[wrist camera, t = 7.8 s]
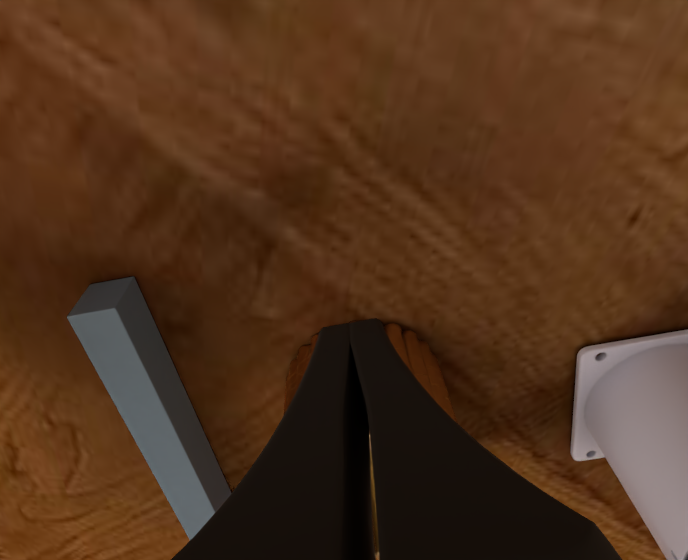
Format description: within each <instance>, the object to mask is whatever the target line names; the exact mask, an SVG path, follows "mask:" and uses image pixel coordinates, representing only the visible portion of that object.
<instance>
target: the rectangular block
mask: <svg viewBox="0 0 688 560" xmlns="http://www.w3.org/2000/svg"><path fill="white" fill-rule="evenodd" d="M67 319H68V320H69V322H70V324H71V326H72V328H73V329H74V331H75V333H76V335H77V337H78V338H79V340H80V342H81V344H82V346H83V347H84V349H85V351H86V353H87V355H88V357H89V358H90V360H91V362H92V364H93V366H94V367H95V369H96V371H97V373H98V375H99V376H100V378H101V380H102V382H103V384H104V385H105V387H106V389H107V391H108V393H109V394H110V396H111V398H112V400H113V402H114V404H115V405H116V407H117V409H118V411H119V413H120V414H121V416H122V418H123V420H124V422H125V423H126V425H127V427H128V429H129V431H130V432H131V434H132V436H133V438H134V440H135V441H136V443H137V445H138V447H139V449H140V451H141V452H142V454H143V456H144V458H145V460H146V461H147V463H148V465H149V467H150V469H151V470H152V472H153V474H154V476H155V478H156V479H157V481H158V483H159V485H160V487H161V489H162V490H163V492H164V494H165V496H166V498H167V499H168V501H169V503H170V505H171V507H172V508H173V510H174V512H175V514H176V516H177V517H178V519H179V521H180V523H181V525H182V526H183V528H184V530H185V532H186V534H187V536H188V537H189V539H190V540H191V539H192V538H193V537H194V536H195V535H196V534H197V533H198V532H199V531H200V529H201V528H202V527H203V526H204V525H205V524H206V523H207V521H208V520H209V519H210V518H211V517H212V516H213V515H214V513H215V512H216V511H217V510H218V509H219V508H220V507H221V506H222V504H223V503H224V502H225V501H226V500H227V498H228V497H229V496H230V495H231V491H230V489H229V487H228V484H227V482H226V480H225V478H224V476H223V473H222V471H221V469H220V467H219V464H218V462H217V460H216V458H215V456H214V453H213V451H212V449H211V447H210V444H209V442H208V440H207V438H206V435H205V433H204V431H203V429H202V427H201V424H200V422H199V420H198V418H197V415H196V413H195V411H194V409H193V407H192V404H191V402H190V400H189V398H188V395H187V393H186V391H185V389H184V387H183V384H182V382H181V380H180V378H179V375H178V373H177V371H176V369H175V366H174V364H173V362H172V360H171V358H170V355H169V353H168V351H167V349H166V346H165V344H164V342H163V340H162V338H161V335H160V333H159V331H158V329H157V326H156V324H155V322H154V320H153V318H152V315H151V313H150V311H149V309H148V306H147V304H146V302H145V300H144V297H143V295H142V293H141V291H140V289H139V286H138V284H137V282H136V280H135V277H128V278H123V279H117V280H112V281H106V282H101V283H95V284H90V285H89V287H88V288H87V289H86V291H85V292H84V294H83V295H82V296H81V298H80V299H79V300H78V302H77V303H76V305H75V306H74V307H73V309H72V310H71V311H70V313H69V314H68V316H67Z"/></svg>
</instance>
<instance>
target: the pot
mask: <svg viewBox="0 0 688 560" xmlns="http://www.w3.org/2000/svg"><path fill="white" fill-rule="evenodd" d="M352 322H358V321H350V322H349V323H352ZM384 330H385V332H386V334H387V336H388V338H389V340H390V341H391V343H392V345H393V346H394V348H395V350H396V351H397V353H398V354H399V356H400V357H401V359H402V360H403V362H404V363H405V364H406V366H407V367H408V368H409V370H410V371H411V372H412V374H413V375H414V376H415V378H416V379H417V380H418V381H419V383H420V384H421V385H422V386H423V387H424V389H425V390H426V391H427V392H428V393H429V394H430V395H431V397H432V398H433V399H434V400H435V401H436V402H437V403H438V404H439V405H440V407H441V408H442V409H443V410H444V411H445V412H446V413H447V414H448V415H449V416H450V417H451V418H452V419H453V420H454V421H455V422H456V423H457V419H456V416H455V413H454V410H453V407H452V404H451V401H450V398H449V394H448V391H447V388H446V385H445V382H444V379H443V376H442V373H441V369H440V366H439V363H438V360H437V357H436V356H435V355H434V354H432V353H431V351H430V348H429V345H428V343H427V342H425V341H422V340H419V341H418V339H417V335H416V334H415V333H414V332H413V331H410V330H406V331H403V332H402V331H401V328H400V326H399V325H397V324H395V323H389V324H387V325H386V326H385V327H384ZM318 335H319V334H316V335H314V336H313V337H312V339H311V345H304V346H302V347H300V349H299V350H298V358H297V359H294V360H292V361H291V363H290V368H289V375H288V376H287V378H286V388H285V403H284V414H285V412H286V410H287V409H288V407H289V405H290V403H291V401H292V399H293V397H294V395H295V393H296V391H297V389H298V387H299V384H300V382H301V380H302V378H303V376H304V373H305V371H306V369H307V366H308V364H309V361H310V359H311V356H312V353H313V351H314V348H315V345H316V342H317V339H318ZM457 424H458V423H457ZM369 438H370V431H369ZM370 470H371V504H372V519H373V521H372V529H373V528H374V530H373V543H374V551H375V558H376V556H377V558H378V560H380V559H379V543H378V527H377V512H376V499H375V486H374V474H373V463H372V451H371V441H370ZM374 537H375V540H374ZM375 547H376V549H375Z"/></svg>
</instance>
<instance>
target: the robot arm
mask: <svg viewBox="0 0 688 560" xmlns="http://www.w3.org/2000/svg"><path fill="white" fill-rule="evenodd" d="M599 353H601V354H600V355H598V354H599ZM596 355H598V356H596ZM369 431H370V438H369ZM370 441H371V451H372V463H373V474H374V486H375V499H376V512H377V527H378V543H379V559H380V560H622V559H621V558H620V556H619V555H618V553H617V552H616V551H615V549H614V548H613V546H612V545H611V544H610V542H609V541H608V540H607V538H606V537H605V536H604V535H603V533H602V532H601V531H600V529H599V528H598V527H597V526H596V524H595V523H594V522H592V521H590V520H589V519H587V518H585V517H584V516H582V515H580V514H579V513H577V512H575V511H574V510H572V509H570V508H569V507H567V506H565V505H564V504H562V503H561V502H559V501H557V500H556V499H554V498H553V497H551V496H550V495H548V494H547V493H545V492H543V491H542V490H541V489H539V488H538V487H536V486H535V485H533V484H532V483H530V482H529V481H528V480H526V479H525V478H523V477H522V476H520V475H519V474H518V473H516V472H515V471H514V470H512V469H511V468H510V467H509V466H507V465H506V464H505V463H503V462H502V461H501V460H500V459H498V458H497V457H496V456H495V455H493V454H492V453H491V452H489V451H488V450H487V449H486V448H484V447H483V446H482V445H481V444H479V443H478V442H477V441H476V440H475V439H474V438H473V437H472V436H470V435H469V434H468V433H467V432H466V431H465V430H464V429H463V428H462V427H461V426H459V425H458V424H457V423H456V422H455V421H454V420H453V419H452V418H451V417H450V416H449V415H448V414H447V413H446V412H445V411H444V410H443V409H442V408H441V407H440V405H439V404H438V403H437V402H436V401H435V400H434V399H433V398H432V397H431V395H430V394H429V393H428V392H427V391H426V390H425V389H424V387H423V386H422V385H421V384H420V383H419V381H418V380H417V379H416V378H415V376H414V375H413V374H412V372H411V371H410V370H409V368H408V367H407V366H406V364H405V363H404V362H403V360H402V359H401V357H400V356H399V354H398V353H397V351H396V350H395V348H394V346H393V345H392V343H391V341H390V340H389V338H388V336H387V334H386V332H385V330H384V327H383V325H382V322H381V321H380V320H378V319H377V318H375V319H369V320H363V321H358V322H352V323H346V324H340V325H335V326H329V327H323V328H322V329H321V331H320V332H319V335H318V339H317V342H316V345H315V348H314V351H313V353H312V356H311V359H310V361H309V364H308V366H307V369H306V371H305V373H304V376H303V378H302V380H301V382H300V384H299V387H298V389H297V391H296V393H295V395H294V397H293V399H292V401H291V403H290V405H289V407H288V409H287V410H286V412H285V414H284V416H283V418H282V420H281V422H280V423H279V425H278V427H277V429H276V430H275V432H274V434H273V435H272V437H271V439H270V440H269V442H268V443H267V445H266V446H265V448H264V449H263V451H262V452H261V454H260V455H259V457H258V458H257V460H256V461H255V463H254V464H253V465H252V467H251V468H250V470H249V471H248V472H247V474H246V475H245V476H244V478H243V479H242V480H241V482H240V483H239V485H238V486H237V487H236V488H235V490H234V491H233V492H232V493H231V495H230V496H229V497H228V498H227V500H226V501H225V502H224V503H223V504H222V506H221V507H220V508H219V509H218V510H217V511H216V512H215V513H214V515H213V516H212V517H211V518H210V519H209V520H208V521H207V523H206V524H205V525H204V526H203V527H202V528H201V529H200V531H199V532H198V533H197V534H196V535H195V536H194V537H193V538H192V539H191V540H190V541H189V542H188V544H187V545H186V546H185V547H184V548H183V549H182V550H181V551H180V552H178V553H177V554H176V555H175V556H174V557H173V558H172V559H171V560H376V559H375V551H374V543H373V529H372V504H371V470H370ZM570 452H571V455H572V457H573V459H574V460H576V461H585V460H591V459H597V458H604V457H605V458H606V459H607V461H608V463H609V464H610V466H611V468H612V469H613V471H614V473H615V474H616V476H617V478H618V479H619V481H620V483H621V484H622V486H623V488H624V489H625V491H626V492H627V494H628V496H629V497H630V499H631V501H632V502H633V504H634V506H635V507H636V509H637V511H638V512H639V514H640V516H641V517H642V519H643V521H644V522H645V524H646V526H647V527H648V529H649V531H650V532H651V534H652V536H653V537H654V539H655V541H656V542H657V544H658V546H659V547H660V549H661V551H662V552H663V554H664V555H665V557H666V559H667V560H688V329H687V330H681V331H675V332H669V333H663V334H657V335H651V336H645V337H640V338H634V339H628V340H622V341H616V342H610V343H604V344H598V345H592V346H587V347H584V348H582V349H581V350H580V351H579V352H578V354H577V364H576V378H575V393H574V407H573V422H572V436H571V450H570Z"/></svg>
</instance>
